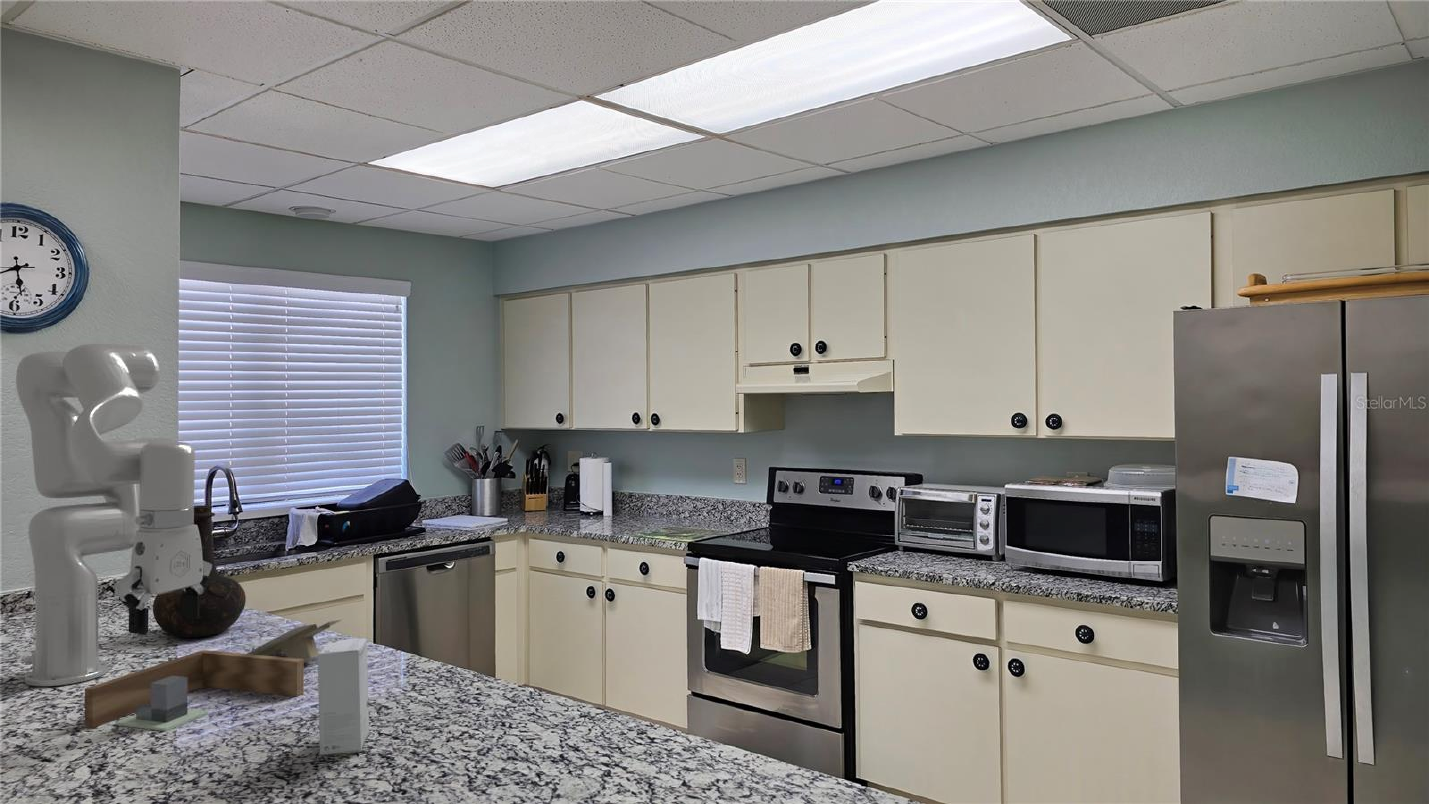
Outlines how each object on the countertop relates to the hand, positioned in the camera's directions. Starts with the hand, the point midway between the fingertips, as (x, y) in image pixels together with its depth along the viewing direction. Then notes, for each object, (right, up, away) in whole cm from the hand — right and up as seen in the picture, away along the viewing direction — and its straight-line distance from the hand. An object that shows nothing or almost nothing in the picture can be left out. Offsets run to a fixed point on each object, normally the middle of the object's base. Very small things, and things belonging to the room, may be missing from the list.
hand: (165, 625), depth 145 cm
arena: (+3, -15, +5) cm, 16 cm away
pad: (0, -15, 0) cm, 15 cm away
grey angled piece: (+5, -16, +30) cm, 34 cm away
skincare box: (+33, -15, -11) cm, 38 cm away
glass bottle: (-25, -15, +53) cm, 61 cm away
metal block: (0, -15, 0) cm, 15 cm away
